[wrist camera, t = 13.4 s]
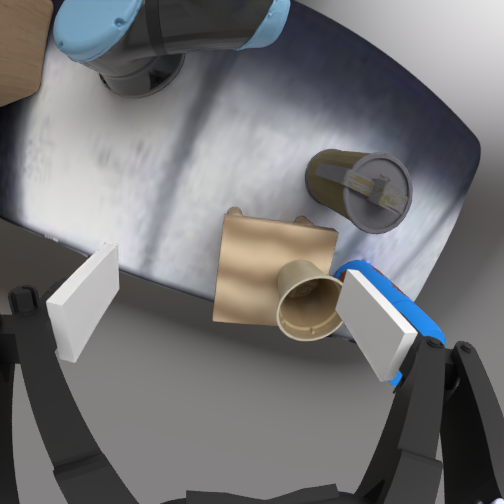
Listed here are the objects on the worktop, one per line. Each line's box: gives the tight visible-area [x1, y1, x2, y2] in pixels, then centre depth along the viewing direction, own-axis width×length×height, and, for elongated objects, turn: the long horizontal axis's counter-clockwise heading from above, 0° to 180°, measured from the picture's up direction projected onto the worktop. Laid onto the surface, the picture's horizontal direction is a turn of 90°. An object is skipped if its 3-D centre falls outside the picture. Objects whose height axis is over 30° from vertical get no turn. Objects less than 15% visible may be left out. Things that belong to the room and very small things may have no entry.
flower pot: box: [276, 259, 343, 341], centre depth 38 cm, size 9×9×9 cm
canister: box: [305, 149, 413, 234], centre depth 40 cm, size 11×10×20 cm
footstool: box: [213, 207, 338, 326], centre depth 47 cm, size 16×16×12 cm
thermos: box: [334, 260, 445, 386], centre depth 45 cm, size 11×11×25 cm
